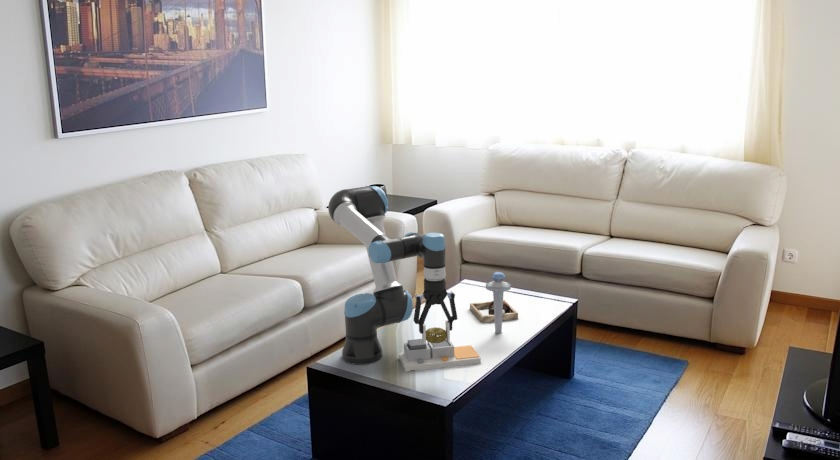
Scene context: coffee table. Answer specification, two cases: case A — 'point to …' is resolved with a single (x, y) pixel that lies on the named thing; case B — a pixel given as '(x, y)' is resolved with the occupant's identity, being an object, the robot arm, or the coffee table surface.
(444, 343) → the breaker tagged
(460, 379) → the coffee table surface
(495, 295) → the novelty light stick
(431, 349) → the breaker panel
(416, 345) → the block
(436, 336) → the sculpture
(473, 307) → the mug frame
